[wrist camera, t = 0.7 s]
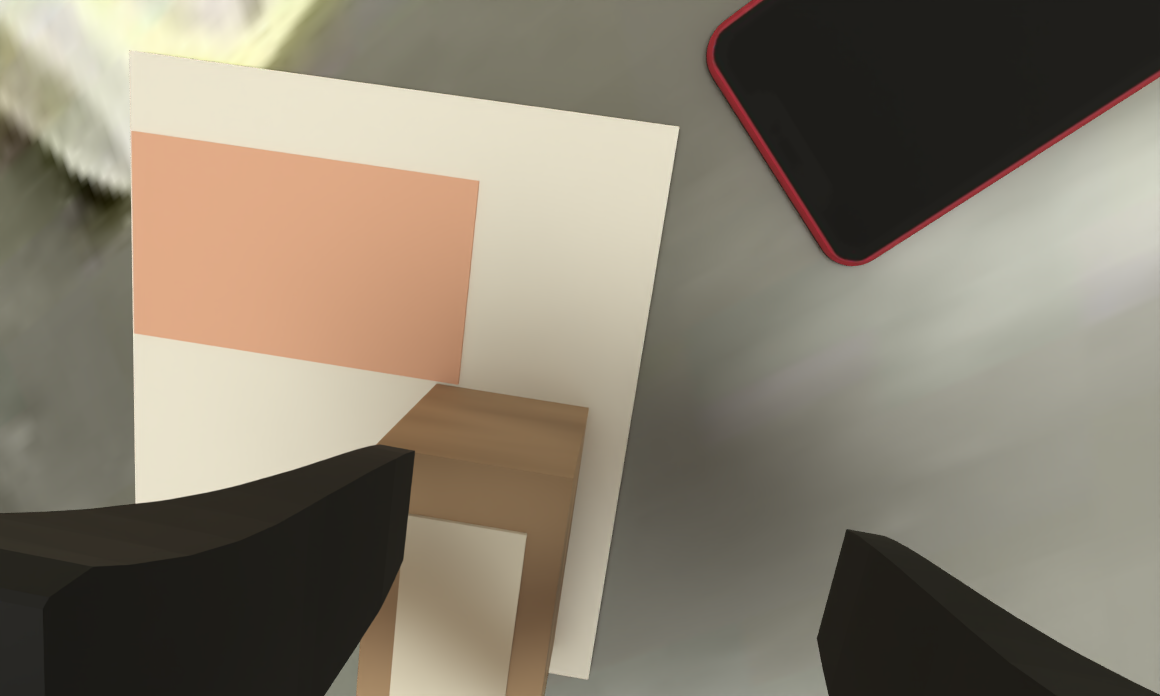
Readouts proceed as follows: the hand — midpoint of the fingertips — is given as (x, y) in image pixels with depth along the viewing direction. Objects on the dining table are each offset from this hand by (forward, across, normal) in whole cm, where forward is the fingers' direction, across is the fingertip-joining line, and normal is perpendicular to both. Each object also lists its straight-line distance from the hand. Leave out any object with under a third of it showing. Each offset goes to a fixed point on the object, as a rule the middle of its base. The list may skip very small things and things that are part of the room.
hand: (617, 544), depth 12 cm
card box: (+9, +3, +5) cm, 11 cm away
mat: (+10, +7, +1) cm, 12 cm away
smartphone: (+10, -8, -12) cm, 18 cm away
